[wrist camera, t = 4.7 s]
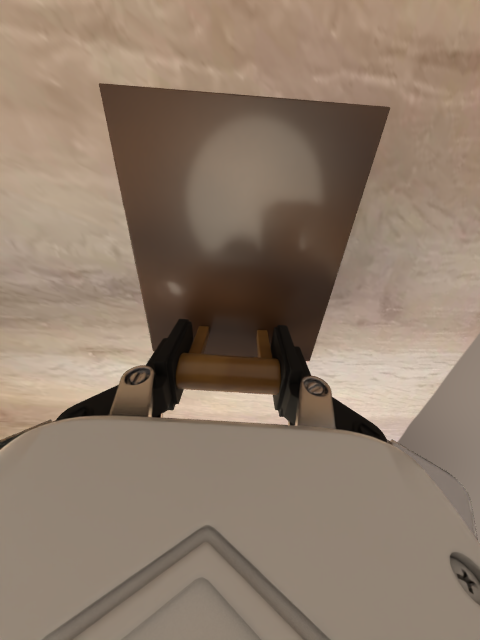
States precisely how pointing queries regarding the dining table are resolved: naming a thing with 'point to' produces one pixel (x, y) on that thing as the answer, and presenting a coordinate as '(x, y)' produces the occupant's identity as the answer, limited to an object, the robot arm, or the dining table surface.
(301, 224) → the lid
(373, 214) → the dining table surface
